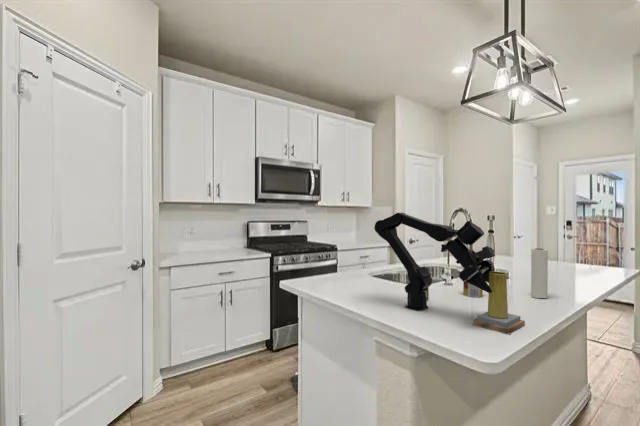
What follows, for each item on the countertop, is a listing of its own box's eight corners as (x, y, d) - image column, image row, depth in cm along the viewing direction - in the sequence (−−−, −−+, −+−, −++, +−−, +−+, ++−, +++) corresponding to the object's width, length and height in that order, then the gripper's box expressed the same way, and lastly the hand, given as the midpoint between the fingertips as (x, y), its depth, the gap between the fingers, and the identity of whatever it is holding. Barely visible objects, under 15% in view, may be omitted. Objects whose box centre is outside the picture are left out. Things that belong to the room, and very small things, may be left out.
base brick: (472, 324, 112) (472, 320, 112) (490, 317, 120) (490, 313, 120) (508, 334, 103) (508, 329, 103) (524, 325, 111) (524, 320, 111)
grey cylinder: (544, 300, 144) (544, 249, 144) (528, 297, 149) (529, 248, 149) (550, 297, 149) (550, 248, 149) (535, 294, 154) (535, 247, 154)
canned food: (479, 293, 155) (479, 267, 155) (485, 297, 147) (485, 270, 147) (461, 293, 156) (461, 267, 156) (466, 297, 148) (466, 269, 148)
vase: (490, 318, 109) (490, 273, 109) (484, 312, 115) (485, 270, 115) (510, 319, 108) (511, 274, 108) (504, 313, 114) (504, 271, 114)
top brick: (477, 320, 112) (477, 315, 112) (492, 314, 118) (492, 309, 118) (506, 327, 105) (506, 322, 105) (520, 320, 112) (520, 316, 112)
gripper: (469, 240, 109) (507, 279, 101) (487, 237, 123) (522, 271, 115) (445, 261, 114) (479, 300, 107) (465, 256, 128) (496, 290, 121)
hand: (495, 290), depth 112 cm, fingers open, 9 cm apart
